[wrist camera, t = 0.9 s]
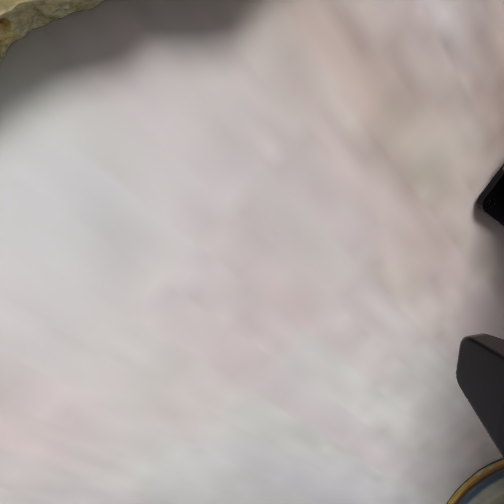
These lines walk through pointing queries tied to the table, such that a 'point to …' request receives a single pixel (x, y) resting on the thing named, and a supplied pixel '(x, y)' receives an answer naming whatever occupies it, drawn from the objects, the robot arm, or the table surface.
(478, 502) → the apothecary jar
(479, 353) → the robot arm
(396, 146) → the table surface
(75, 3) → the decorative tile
